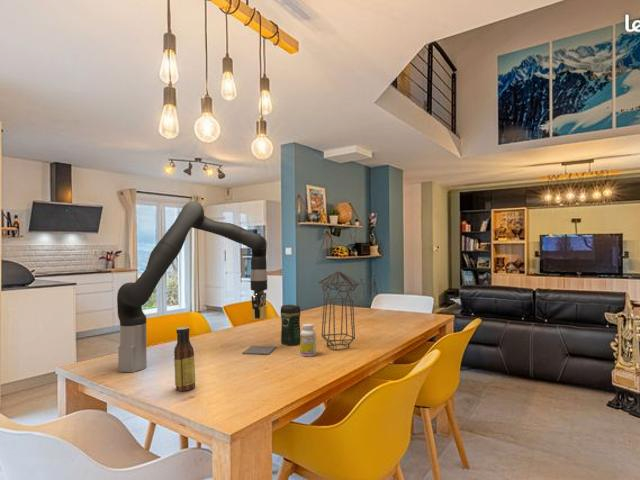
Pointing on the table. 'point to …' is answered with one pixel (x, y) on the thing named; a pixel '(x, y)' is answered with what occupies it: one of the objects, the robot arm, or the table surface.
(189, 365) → the sauce bottle
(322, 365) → the table surface
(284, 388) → the table surface
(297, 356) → the table surface
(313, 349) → the supplement bottle
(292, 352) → the table surface
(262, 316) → the cube
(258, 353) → the coaster
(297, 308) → the coffee jar
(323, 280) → the geometric lantern
